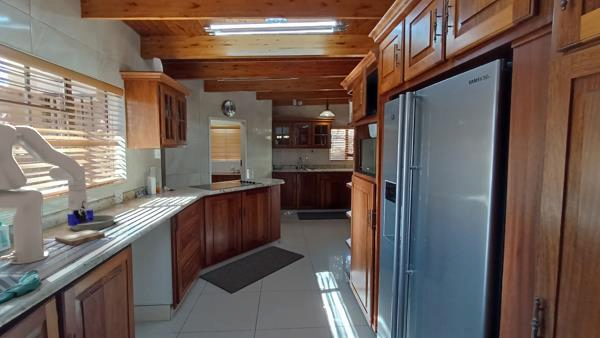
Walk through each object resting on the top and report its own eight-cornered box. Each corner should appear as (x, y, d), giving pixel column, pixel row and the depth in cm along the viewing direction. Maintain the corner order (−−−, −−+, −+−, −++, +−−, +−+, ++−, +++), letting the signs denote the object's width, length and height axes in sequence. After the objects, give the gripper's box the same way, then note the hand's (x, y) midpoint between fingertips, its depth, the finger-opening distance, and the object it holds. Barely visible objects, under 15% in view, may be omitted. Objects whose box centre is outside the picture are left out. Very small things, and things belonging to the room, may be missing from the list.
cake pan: (76, 234, 170) (75, 226, 170) (62, 227, 185) (62, 220, 185) (123, 225, 190) (122, 218, 189) (107, 219, 205) (106, 212, 204)
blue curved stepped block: (87, 219, 167) (86, 209, 167) (93, 220, 166) (93, 209, 166) (65, 225, 156) (65, 214, 155) (72, 226, 155) (72, 214, 154)
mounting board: (71, 245, 151) (71, 241, 150) (55, 240, 158) (55, 236, 158) (104, 236, 165) (104, 232, 165) (88, 232, 172) (88, 229, 172)
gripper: (60, 187, 160) (63, 221, 161) (78, 190, 152) (80, 225, 154) (76, 186, 166) (78, 218, 168) (94, 188, 159) (96, 221, 160)
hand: (79, 221), depth 161 cm, fingers closed on blue curved stepped block, 5 cm apart
